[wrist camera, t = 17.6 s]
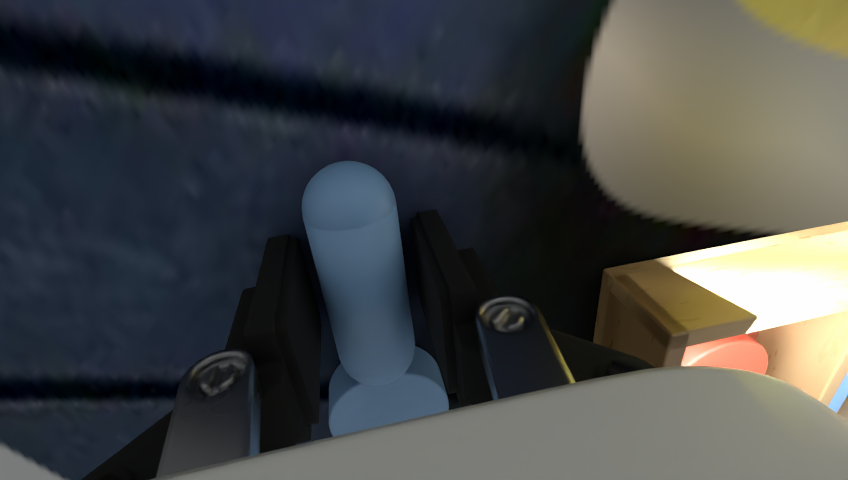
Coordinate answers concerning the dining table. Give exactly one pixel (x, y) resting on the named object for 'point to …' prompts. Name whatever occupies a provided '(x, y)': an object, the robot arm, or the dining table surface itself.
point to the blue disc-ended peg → (367, 301)
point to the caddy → (741, 306)
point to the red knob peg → (728, 354)
